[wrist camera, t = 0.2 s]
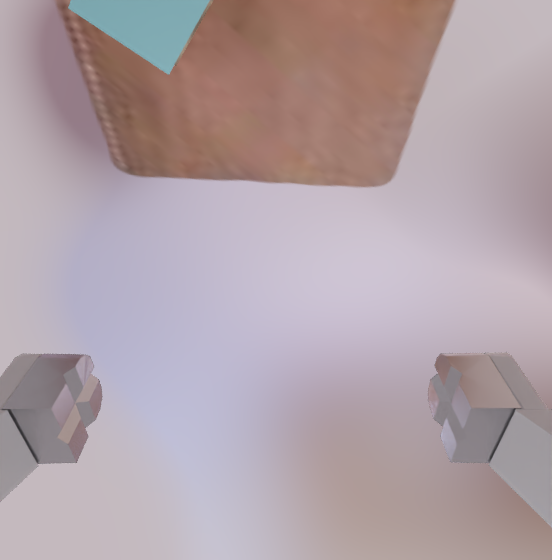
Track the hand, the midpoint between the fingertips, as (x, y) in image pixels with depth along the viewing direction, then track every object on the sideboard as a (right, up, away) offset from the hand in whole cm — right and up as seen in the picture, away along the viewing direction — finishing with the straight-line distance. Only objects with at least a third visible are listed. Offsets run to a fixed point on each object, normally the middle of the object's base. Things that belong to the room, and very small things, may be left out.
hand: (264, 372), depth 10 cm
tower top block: (-13, +34, +33) cm, 49 cm away
